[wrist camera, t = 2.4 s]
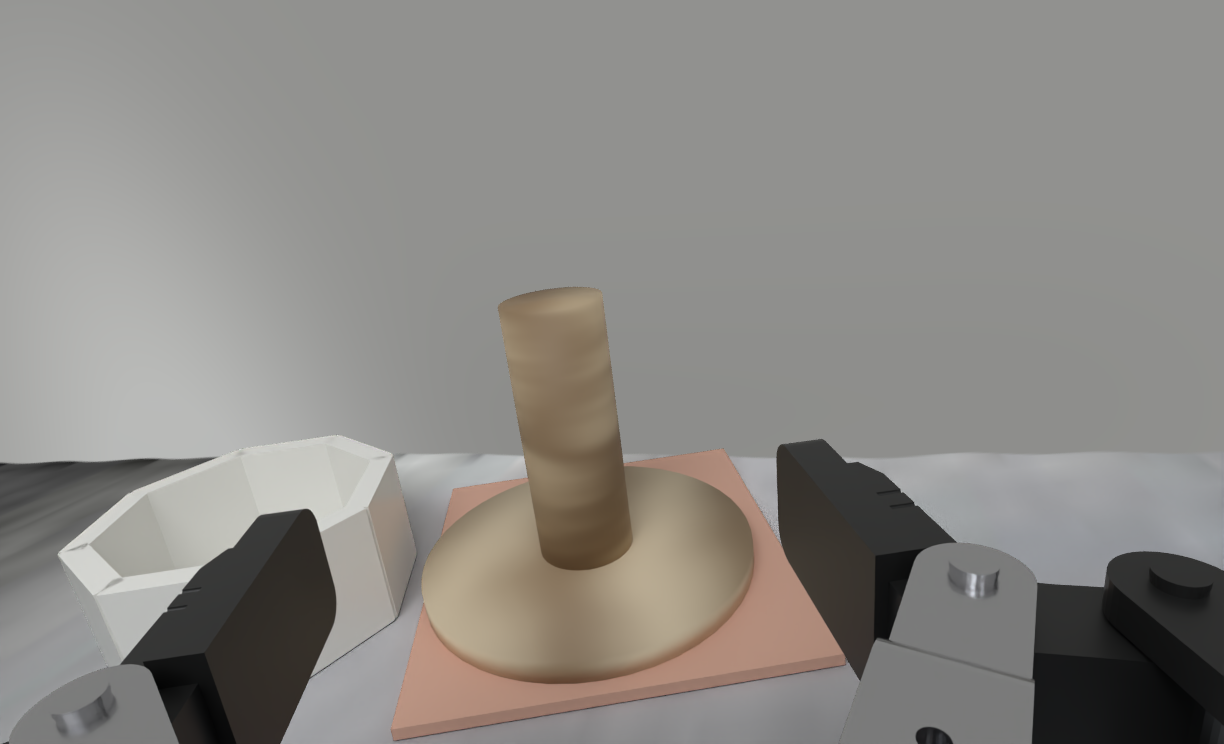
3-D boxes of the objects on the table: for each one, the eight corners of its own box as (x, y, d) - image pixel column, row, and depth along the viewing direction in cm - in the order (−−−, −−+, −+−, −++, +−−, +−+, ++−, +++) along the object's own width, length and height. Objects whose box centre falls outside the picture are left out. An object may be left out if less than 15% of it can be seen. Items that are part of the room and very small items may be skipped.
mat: (723, 455, 33) (723, 448, 33) (845, 664, 20) (845, 653, 20) (454, 496, 32) (453, 488, 32) (394, 740, 19) (390, 729, 19)
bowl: (428, 515, 31) (407, 424, 29) (378, 680, 21) (342, 558, 20) (202, 549, 30) (169, 458, 29) (48, 733, 21) (-13, 612, 19)
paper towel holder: (710, 465, 31) (693, 248, 28) (804, 646, 20) (794, 318, 17) (449, 504, 31) (401, 287, 28) (394, 715, 19) (300, 388, 16)
